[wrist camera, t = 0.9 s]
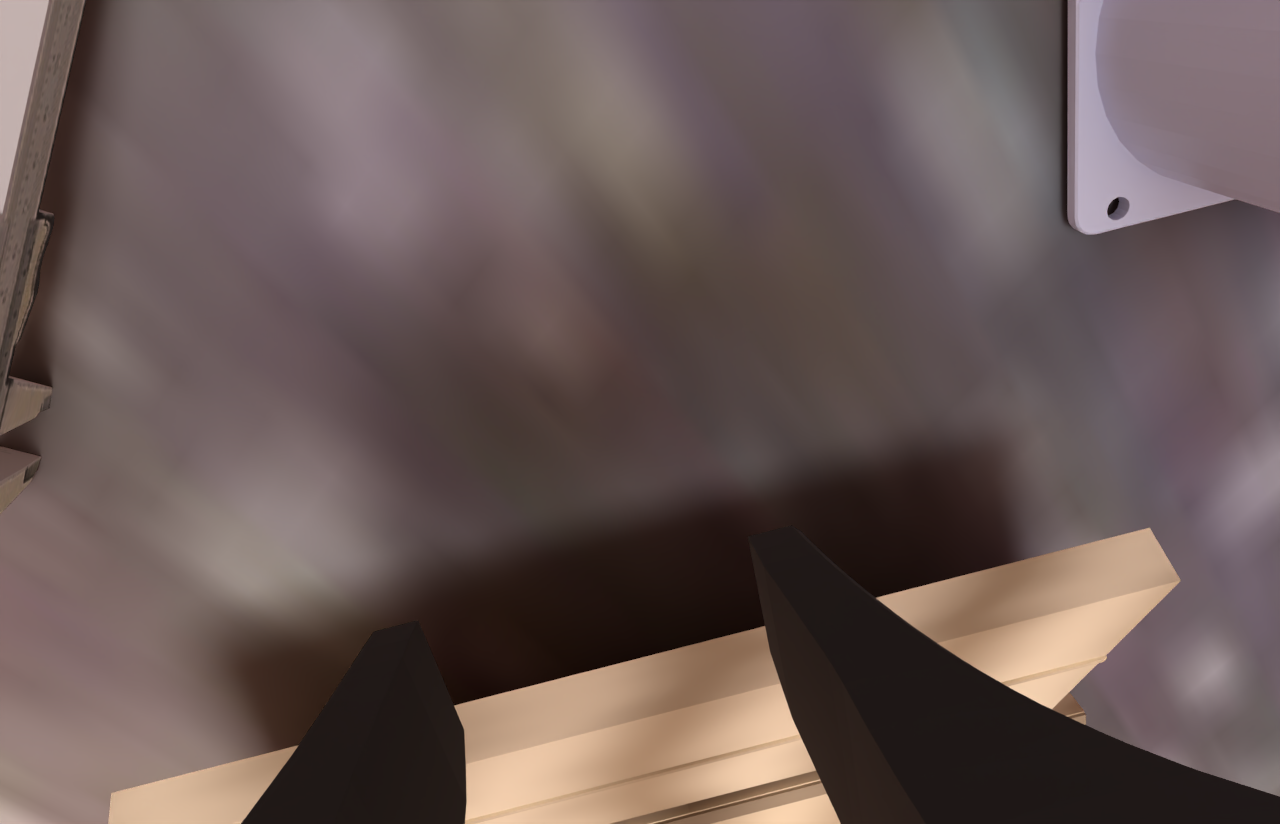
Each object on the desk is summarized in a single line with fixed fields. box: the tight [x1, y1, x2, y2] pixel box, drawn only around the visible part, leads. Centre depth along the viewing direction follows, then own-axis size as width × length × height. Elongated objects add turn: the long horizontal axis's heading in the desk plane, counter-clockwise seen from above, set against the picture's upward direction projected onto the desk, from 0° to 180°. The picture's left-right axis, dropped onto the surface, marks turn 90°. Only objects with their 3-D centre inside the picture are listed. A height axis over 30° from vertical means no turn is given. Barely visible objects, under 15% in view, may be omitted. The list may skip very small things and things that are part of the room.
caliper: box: [0, 0, 86, 514], centre depth 14 cm, size 20×1×6 cm, turn 158°
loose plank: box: [108, 528, 1181, 824], centre depth 22 cm, size 22×10×1 cm
